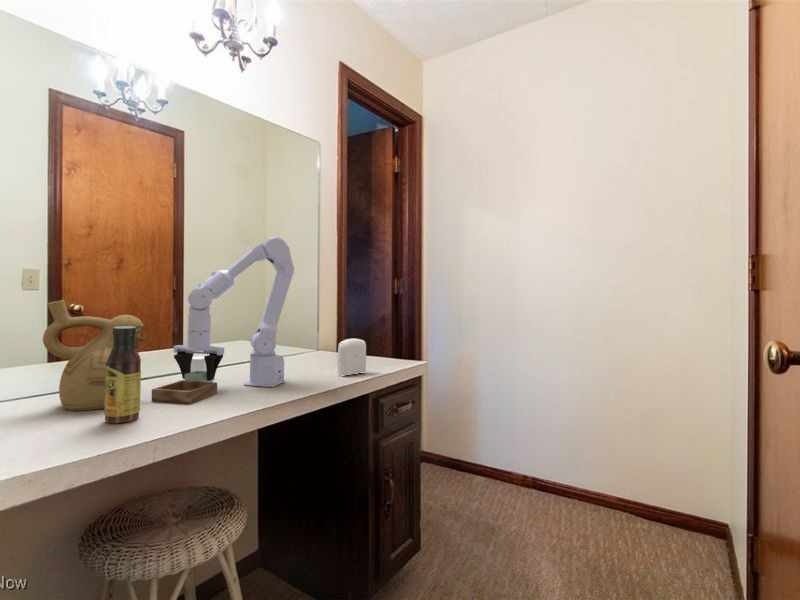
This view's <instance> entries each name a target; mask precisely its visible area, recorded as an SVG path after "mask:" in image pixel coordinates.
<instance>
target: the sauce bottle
mask: <svg viewBox="0 0 800 600" xmlns="http://www.w3.org/2000/svg"><path fill="white" fill-rule="evenodd" d="M135 334H136V327H133V326H118V327H114V328H113V335H114V338H113V340H114V342H113V348H112V351H111V353H110V356H109V358H108V360H107V363H106V365H105V405H104V408H103V410H104V411H103V412H104V420H105V422H106V423H109V424H113V425H115V424H124V423H129V422H133V421H135V420H138V418H139V417H140V411H141V389H142V388H141V387H142V385H141V384H142V370H141V368H142V367H141V364H142V359H141V358H142V357H141V356H140V353H139V352H138V351H137V350H135V348H134V347H135Z"/></svg>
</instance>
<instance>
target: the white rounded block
mask: <svg viewBox="0 0 800 600" xmlns="http://www.w3.org/2000/svg"><path fill="white" fill-rule="evenodd" d="M204 356H205V355H195V356H194V355H193V357H192V362H191V372H193V371H207V368H206V362H205V359H204Z"/></svg>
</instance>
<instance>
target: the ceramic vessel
mask: <svg viewBox="0 0 800 600" xmlns="http://www.w3.org/2000/svg"><path fill="white" fill-rule="evenodd" d="M47 307H48V308H49V310H50V313H51V315H52V318H53V320H54V321H53V322H52V323H51V324H50V325H48V326H47V328H46V329H45V330H44V333H43V335H42V342H43V343H42V344H43V346H44V348H46V350H47V351H48V352H49V353H51V354H52V355H53V356H55V357H58V358H62V359H65V360H68V362H67V363H66V365H65V367H64V368H63V370H62V373H61V375H60V376H61V377H60V381H59V388H58V393H59V394H58V395H59V400H60V403H61V406H62V407H64V409H67V410H70V411H92V410H93V411H94V410H101V409H104V405H105V365H106V363H107V360H108V358H109V356H110V353H111V351H112V348H113V342H114V340H113V338H114V335H113V328H114V327H118V326H133V327H136V334H135V347H134V348H135V350H136V351H137V350H138V349H140V347H141V343H143V342H145V341H146V339H147V336H146V335H145V334H144V332H143V331H142V329H143V327H144V323H143V322H142V320H141V319H139V317H136V316H135V315H131V314H121V315H117V316H115V317H113V318H111V319H108V318H104V317H97V316H89V315H88V316H84V315H83V316H73V317H71V316H70V315H69V312H68V310H67V306H66V302H65V299H61V300H56V301H51V302H48V303H47ZM78 327H79V328H80V327H91V328H94V329H98V330H100V333H99V334H98V335H97V336H95V337H94V338H93V339H92V340H90V341H89V342H88V343H86V344H85V345H83V346H77V347H76V346H73V347H71V346H67V345H64V344H63V343H61V342H60V340H59V335H60V334H61V333H62V332H63V331H65V330H67V329H73V328H78Z"/></svg>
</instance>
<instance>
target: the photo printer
mask: <svg viewBox="0 0 800 600" xmlns="http://www.w3.org/2000/svg"><path fill="white" fill-rule="evenodd" d="M337 347H338V348H337V375H338V374H339V375H349V374H355V373H361V372H365V371H366V372H367V370H366V369H367V368H366V367H367V344H366V341H365V340H363V339H360V338H355V337H354V338H347V339H344V340H342V341H340V342H339V343H338V346H337ZM366 372H365V373H366ZM339 375H338V376H339Z"/></svg>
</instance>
